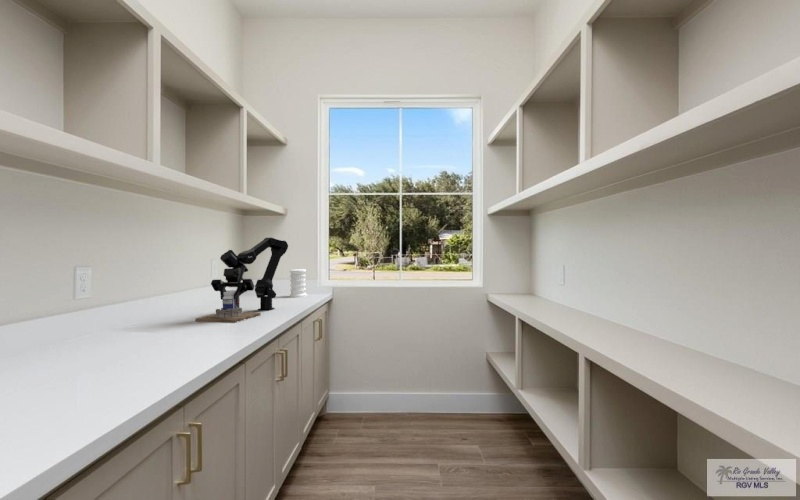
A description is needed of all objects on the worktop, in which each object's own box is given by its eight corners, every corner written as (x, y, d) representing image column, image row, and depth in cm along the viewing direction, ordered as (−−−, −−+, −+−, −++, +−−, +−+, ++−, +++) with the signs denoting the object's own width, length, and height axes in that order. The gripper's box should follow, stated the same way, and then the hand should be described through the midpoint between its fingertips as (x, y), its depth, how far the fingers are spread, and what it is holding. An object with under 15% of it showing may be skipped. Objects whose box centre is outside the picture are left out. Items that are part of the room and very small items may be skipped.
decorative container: (295, 297, 278) (295, 270, 278) (286, 296, 286) (285, 270, 286) (310, 296, 286) (310, 269, 286) (300, 295, 294) (300, 269, 294)
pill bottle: (229, 312, 198) (228, 290, 198) (238, 312, 196) (238, 291, 196) (220, 314, 192) (219, 292, 192) (229, 314, 190) (229, 292, 190)
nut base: (223, 314, 206) (223, 305, 206) (260, 315, 201) (260, 306, 201) (195, 321, 186) (195, 311, 186) (235, 322, 182) (235, 312, 182)
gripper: (212, 262, 198) (201, 288, 187) (251, 261, 198) (242, 287, 187) (220, 278, 206) (210, 303, 195) (257, 277, 206) (249, 302, 195)
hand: (227, 299), depth 193 cm, fingers closed on pill bottle, 6 cm apart
